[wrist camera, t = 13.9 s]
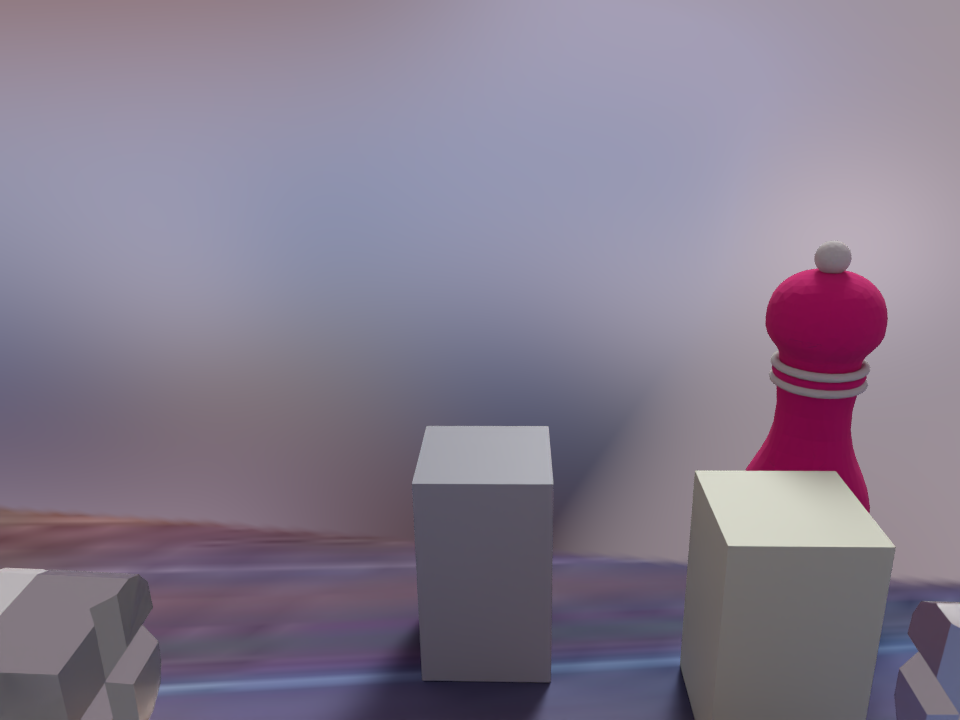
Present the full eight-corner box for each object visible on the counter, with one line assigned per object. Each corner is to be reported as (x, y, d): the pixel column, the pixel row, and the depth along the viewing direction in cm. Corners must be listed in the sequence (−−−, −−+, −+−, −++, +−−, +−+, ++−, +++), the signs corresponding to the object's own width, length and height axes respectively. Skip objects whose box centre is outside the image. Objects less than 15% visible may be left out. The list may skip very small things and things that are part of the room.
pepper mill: (719, 590, 48) (751, 249, 41) (740, 530, 54) (771, 224, 47) (855, 623, 45) (913, 261, 38) (861, 555, 51) (912, 233, 44)
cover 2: (707, 765, 36) (728, 545, 32) (680, 665, 42) (695, 470, 38) (857, 768, 36) (895, 547, 32) (808, 667, 42) (835, 471, 38)
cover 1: (422, 680, 41) (412, 483, 38) (434, 602, 47) (426, 426, 44) (550, 682, 41) (553, 484, 37) (546, 603, 47) (548, 426, 43)
